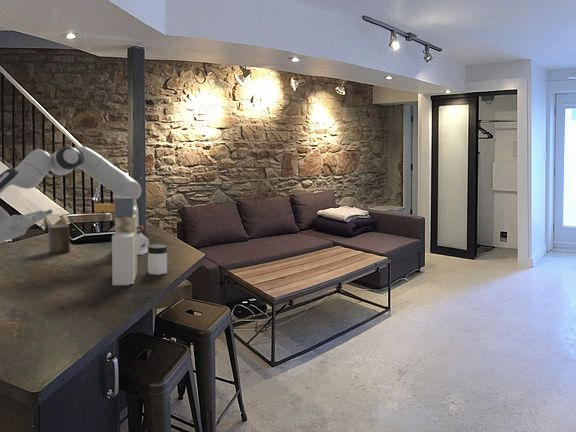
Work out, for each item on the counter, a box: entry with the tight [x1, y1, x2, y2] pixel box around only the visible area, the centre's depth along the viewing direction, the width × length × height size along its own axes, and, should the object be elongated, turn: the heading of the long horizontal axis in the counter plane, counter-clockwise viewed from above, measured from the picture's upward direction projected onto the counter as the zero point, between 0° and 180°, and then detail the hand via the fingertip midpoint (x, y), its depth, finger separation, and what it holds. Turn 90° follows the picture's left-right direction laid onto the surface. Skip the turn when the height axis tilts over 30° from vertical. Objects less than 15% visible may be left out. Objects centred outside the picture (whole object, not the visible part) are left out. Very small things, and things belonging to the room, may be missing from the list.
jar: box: [147, 244, 168, 276], centre depth 214 cm, size 9×8×12 cm
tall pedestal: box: [114, 214, 138, 278], centre depth 207 cm, size 8×9×26 cm
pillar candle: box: [47, 223, 71, 255], centre depth 245 cm, size 10×10×15 cm
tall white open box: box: [111, 232, 136, 286], centre depth 197 cm, size 8×9×20 cm
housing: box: [93, 196, 134, 218], centre depth 204 cm, size 16×7×8 cm, turn 103°
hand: (48, 212), depth 200 cm, fingers open, 8 cm apart
